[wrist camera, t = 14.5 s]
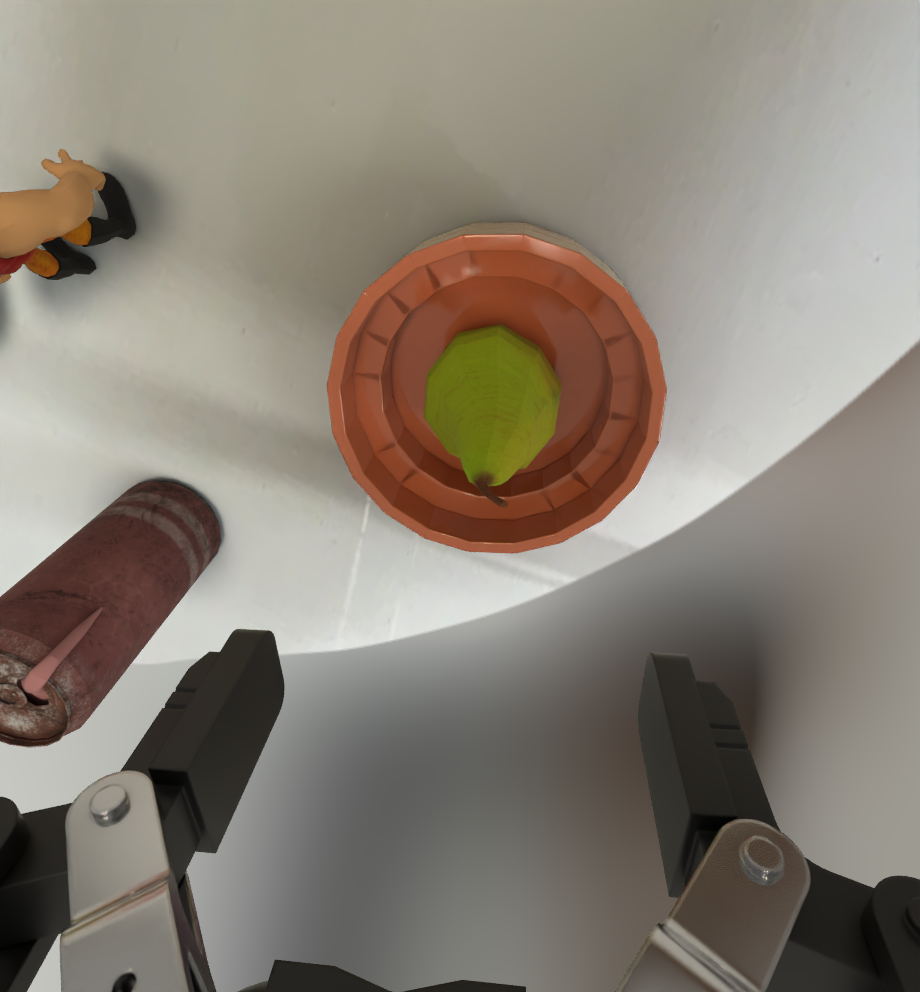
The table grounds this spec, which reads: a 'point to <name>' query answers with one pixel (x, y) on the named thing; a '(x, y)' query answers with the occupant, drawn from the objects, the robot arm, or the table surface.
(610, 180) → the table surface
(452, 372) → the fruit
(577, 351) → the bowl
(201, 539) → the can
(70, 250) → the action figure
